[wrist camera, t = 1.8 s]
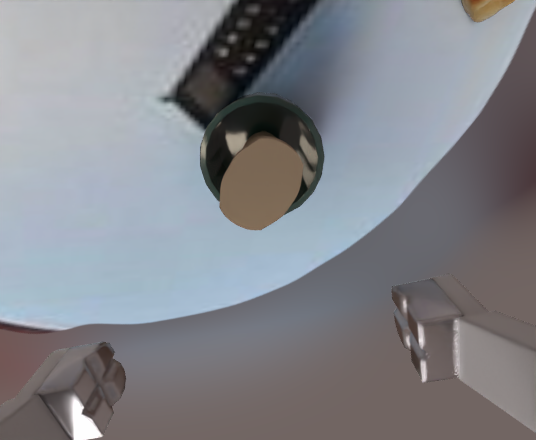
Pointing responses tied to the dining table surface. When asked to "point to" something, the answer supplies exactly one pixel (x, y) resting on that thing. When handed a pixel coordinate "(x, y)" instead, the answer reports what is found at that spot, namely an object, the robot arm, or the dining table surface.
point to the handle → (260, 182)
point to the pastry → (484, 8)
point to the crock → (256, 120)
